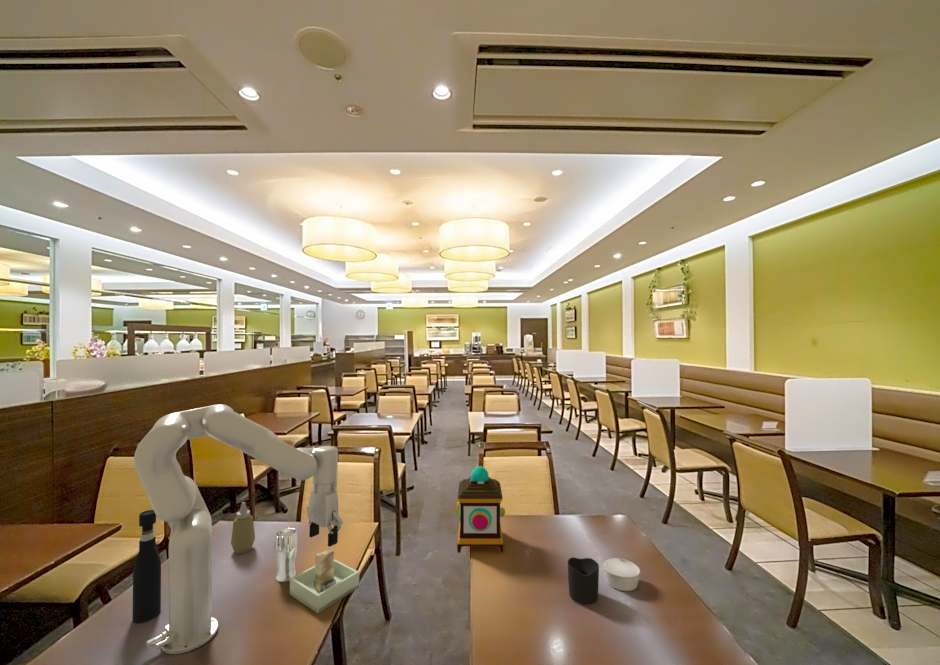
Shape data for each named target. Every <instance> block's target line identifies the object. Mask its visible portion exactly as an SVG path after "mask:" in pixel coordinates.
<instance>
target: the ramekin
mask: <svg viewBox="0 0 940 665" xmlns="http://www.w3.org/2000/svg"><path fill="white" fill-rule="evenodd" d="M603 569H604V570H603V571H604V573H605V579H606V581H607V583H608V584H609V586H611V587H612V588H614V589H615V588H616V589H615V590H618V591H621V592H632V591H634V590H636V589H637V587H638V585H639V580H640V577H641V569H640V567H639V566H638V565H637V564H635V563H634V562H632V561H630V560H628V559H623V558H618V557H614V558H608V559H607V560H605V561H604V563H603Z"/></svg>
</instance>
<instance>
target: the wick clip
mask: <svg viewBox="0 0 940 665" xmlns="http://www.w3.org/2000/svg"><path fill="white" fill-rule="evenodd" d="M335 584H336V580H335V579H332V580H330V581H329V582H327V583H325V584H323V591H324V590H326V589H328V588H329V587H331V586H333V585H335ZM314 588H315V589H316V579H315V580H314Z"/></svg>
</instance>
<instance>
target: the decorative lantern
mask: <svg viewBox="0 0 940 665" xmlns="http://www.w3.org/2000/svg"><path fill="white" fill-rule="evenodd" d="M502 502H503V492H502V486H501V482H500V481H499V480H497V479H494V478H491V477H490V476H489V472H488V470H487V469H486V468H485V467H484V466H482V465H477V466H476V467H475V468H474V469H473V470H472V471H471V473H470V476H469V477H468V478H467V479H466V478H464V479H462V480H460V482H459V483H458V492H457V501H456V504H455V506H454V513H455V515H456V516H459V519H460V521H459V522H458V523H459V524H458V532H457V542H456V543H457V544H456V550H457V553H458V554H461V552H462V547H463V548H464V547H498V549H499V551H498V552H499V553H500V554H502V553H504V540H503V532H502V526H501V524H502V523H501V518H502V517H504V516H505V514H506V509H505V508H504V507H501V503H502Z"/></svg>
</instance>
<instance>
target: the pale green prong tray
mask: <svg viewBox="0 0 940 665" xmlns="http://www.w3.org/2000/svg"><path fill="white" fill-rule="evenodd" d="M315 579H316V564H315V565H314V566H311V567H310V568H307V569H306V570H305V569H304V571H302V572H300V573H298V574H296V576H294V577H292V578H290V580H289V595H290V596H291V597H293V598H294V599H295V600H297V601H299V602H300V603H302V604H303V605H305V606H307V607H308V609H309V608H310V609H311V610H312V611H314V612H316V614H319V613H321V612H322V611H324V610H326V609H327V608H329V607H331V606H333V604H335V603H336V602H338V601H340V600H341V599H343V598H344V597H346V596H348V595H349V594H351V593H353V592H354V591H356V590H358V589H359V588H360V571H358V570H357V569H354V568H352V567H351V566H348V565H346V564H345V563H343V562H340V561H339V560H337V559H335V558H334V579H335V580H336V584H335V585H333V586H331V587H329V588H328V589H326V590H324V591H322V592H321V593H319V592H318V591H316V589H315V588H314V580H315Z"/></svg>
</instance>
